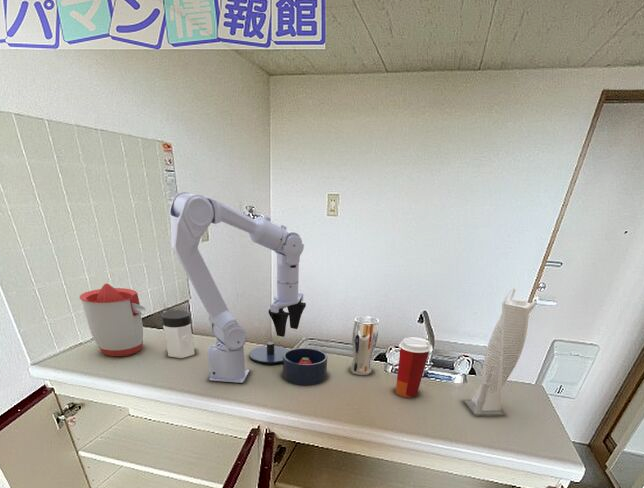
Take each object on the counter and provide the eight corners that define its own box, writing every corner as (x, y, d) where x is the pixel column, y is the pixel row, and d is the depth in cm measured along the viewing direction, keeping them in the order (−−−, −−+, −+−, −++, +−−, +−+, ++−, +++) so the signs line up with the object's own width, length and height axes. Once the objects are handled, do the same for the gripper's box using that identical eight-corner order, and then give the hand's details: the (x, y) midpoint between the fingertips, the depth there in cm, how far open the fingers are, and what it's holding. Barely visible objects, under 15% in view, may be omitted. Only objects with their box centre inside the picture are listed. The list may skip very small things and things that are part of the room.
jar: (175, 360, 121) (168, 320, 114) (162, 352, 126) (154, 314, 119) (201, 353, 126) (196, 314, 119) (187, 346, 131) (181, 308, 124)
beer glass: (372, 377, 115) (379, 325, 106) (347, 374, 116) (353, 322, 107) (373, 367, 120) (380, 317, 112) (350, 365, 121) (355, 315, 113)
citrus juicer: (144, 361, 120) (129, 291, 109) (86, 359, 120) (65, 289, 109) (160, 342, 133) (148, 278, 121) (107, 340, 133) (90, 276, 121)
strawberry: (300, 378, 112) (301, 362, 109) (295, 372, 115) (295, 356, 112) (314, 376, 113) (315, 360, 111) (308, 370, 117) (309, 355, 114)
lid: (245, 363, 120) (244, 349, 118) (254, 347, 131) (253, 334, 129) (288, 366, 119) (288, 352, 117) (294, 350, 130) (294, 337, 128)
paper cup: (422, 389, 109) (433, 338, 101) (419, 401, 103) (430, 349, 95) (393, 384, 111) (402, 334, 103) (389, 396, 105) (397, 344, 97)
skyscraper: (461, 399, 105) (494, 286, 89) (491, 399, 105) (529, 287, 89) (475, 415, 98) (513, 297, 82) (507, 415, 99) (551, 297, 82)
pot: (280, 383, 110) (279, 363, 107) (286, 365, 120) (286, 346, 117) (324, 386, 109) (325, 366, 106) (327, 368, 119) (328, 349, 116)
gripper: (288, 275, 114) (288, 322, 122) (260, 285, 103) (261, 336, 111) (310, 278, 111) (308, 326, 119) (283, 288, 101) (283, 341, 109)
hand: (287, 332), depth 115 cm, fingers open, 7 cm apart
